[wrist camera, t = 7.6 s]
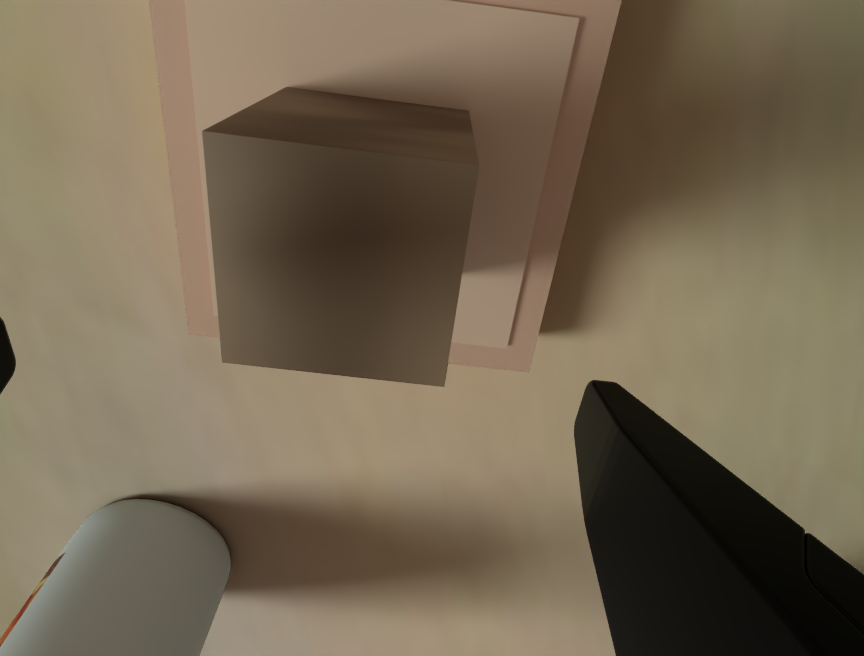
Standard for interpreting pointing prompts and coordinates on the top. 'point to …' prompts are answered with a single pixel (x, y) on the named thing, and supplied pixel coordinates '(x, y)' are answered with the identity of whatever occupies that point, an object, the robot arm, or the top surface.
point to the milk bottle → (127, 587)
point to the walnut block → (340, 233)
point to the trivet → (412, 83)
